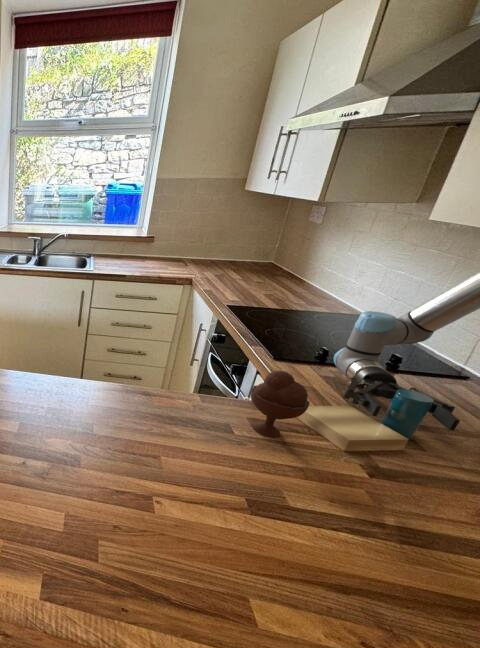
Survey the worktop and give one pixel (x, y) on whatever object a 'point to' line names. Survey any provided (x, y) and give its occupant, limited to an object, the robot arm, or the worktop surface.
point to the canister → (406, 412)
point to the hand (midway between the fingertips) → (414, 418)
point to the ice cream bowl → (278, 401)
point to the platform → (351, 429)
